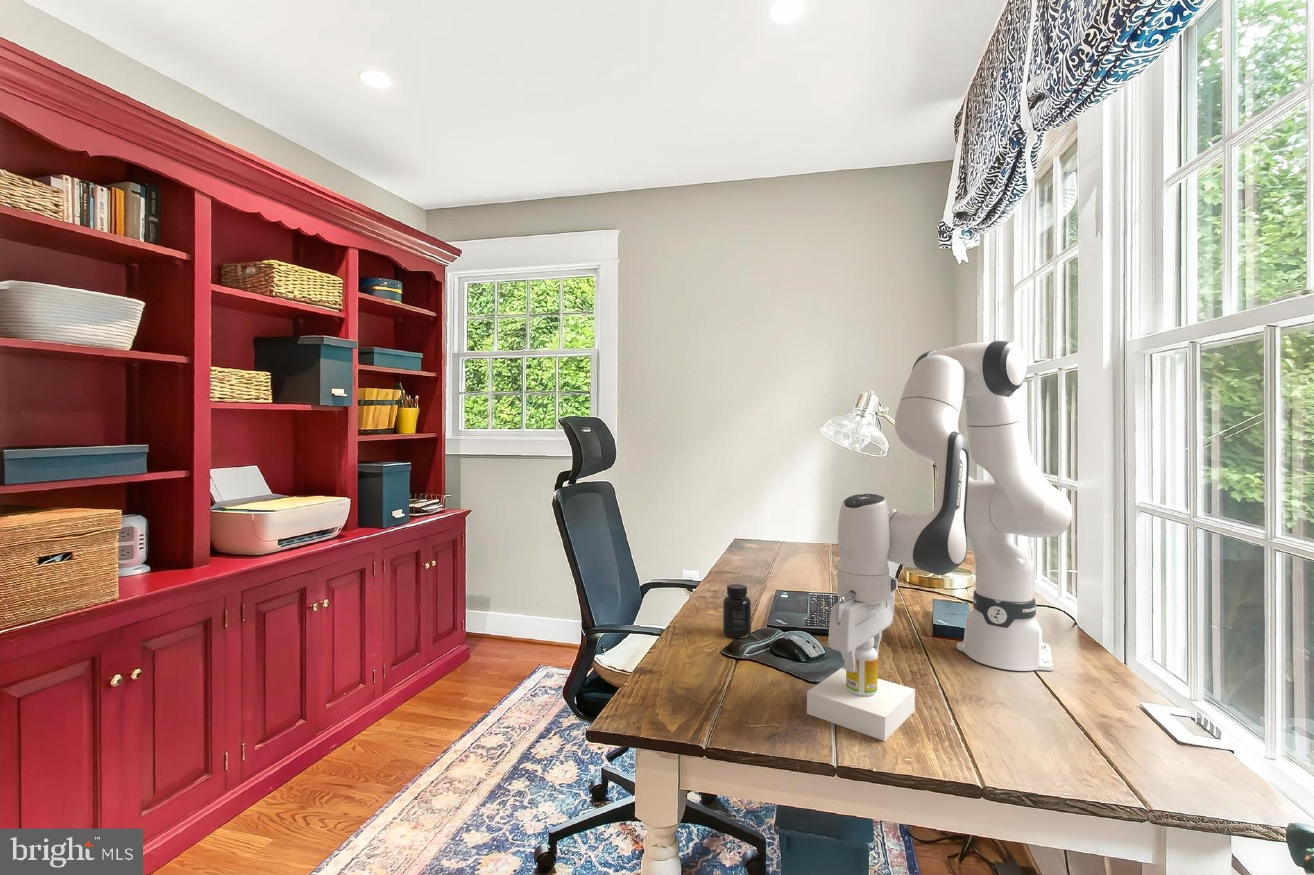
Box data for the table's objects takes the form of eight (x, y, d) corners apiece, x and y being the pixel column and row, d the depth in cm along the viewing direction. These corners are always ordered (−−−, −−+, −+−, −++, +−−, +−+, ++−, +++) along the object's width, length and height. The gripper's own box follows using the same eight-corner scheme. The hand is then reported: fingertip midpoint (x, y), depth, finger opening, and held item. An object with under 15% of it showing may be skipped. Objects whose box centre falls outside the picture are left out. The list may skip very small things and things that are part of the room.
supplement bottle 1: (755, 633, 150) (755, 585, 149) (744, 641, 144) (744, 591, 144) (730, 628, 153) (730, 581, 153) (718, 636, 148) (718, 587, 147)
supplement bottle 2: (877, 686, 111) (878, 633, 111) (877, 698, 106) (878, 643, 106) (846, 681, 113) (847, 629, 112) (845, 694, 108) (845, 639, 107)
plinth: (841, 688, 119) (841, 667, 119) (914, 710, 110) (915, 689, 110) (806, 713, 109) (807, 691, 109) (884, 741, 99) (885, 717, 99)
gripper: (855, 602, 99) (854, 686, 99) (901, 578, 114) (900, 650, 114) (819, 594, 103) (818, 675, 103) (868, 572, 118) (867, 642, 119)
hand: (861, 662), depth 109 cm, fingers open, 8 cm apart
